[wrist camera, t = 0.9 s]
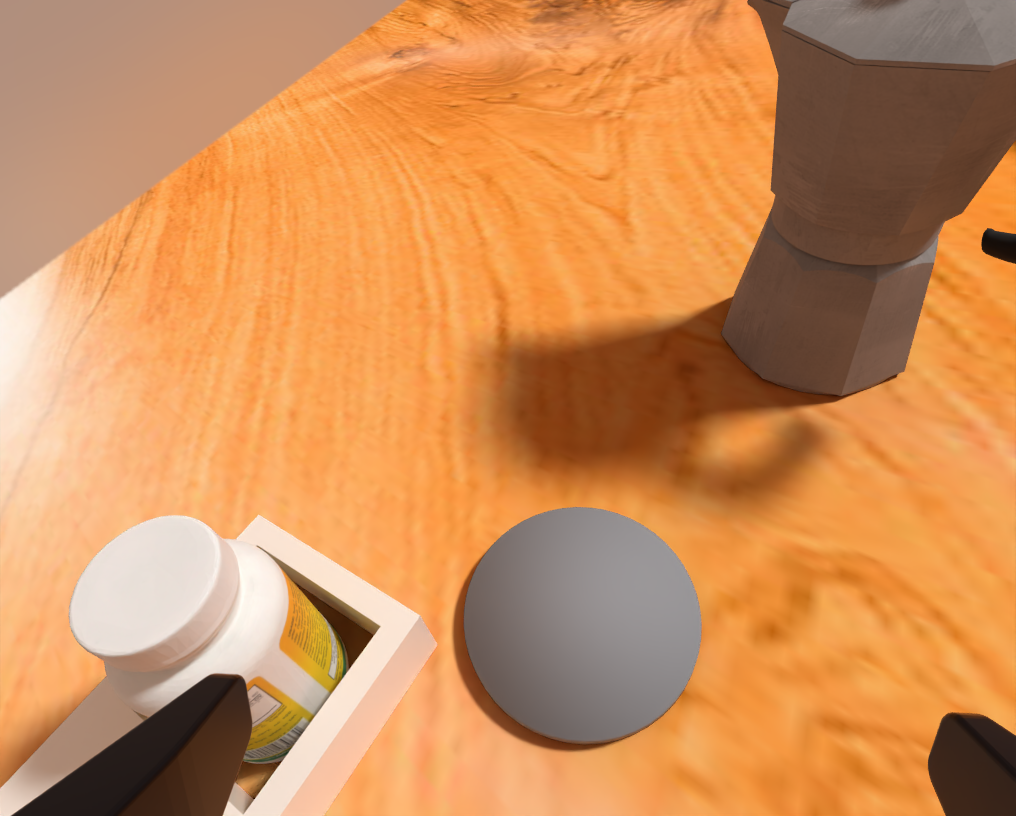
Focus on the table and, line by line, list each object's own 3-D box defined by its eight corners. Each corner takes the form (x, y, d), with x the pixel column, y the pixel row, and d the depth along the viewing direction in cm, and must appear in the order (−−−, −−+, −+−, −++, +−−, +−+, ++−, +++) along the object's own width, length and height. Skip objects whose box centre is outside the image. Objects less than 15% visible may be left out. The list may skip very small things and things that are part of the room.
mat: (637, 802, 20) (639, 799, 19) (421, 658, 24) (417, 653, 23) (734, 573, 24) (736, 567, 24) (538, 483, 28) (537, 476, 28)
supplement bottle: (294, 795, 21) (130, 730, 14) (186, 723, 23) (-7, 633, 16) (380, 650, 24) (283, 532, 17) (278, 597, 26) (151, 470, 19)
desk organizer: (100, 1149, 16) (12, 1191, 14) (-46, 926, 20) (-138, 927, 17) (437, 644, 24) (418, 613, 21) (287, 548, 27) (256, 512, 25)
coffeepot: (653, 324, 34) (688, -82, 20) (751, 243, 37) (839, -150, 24) (948, 486, 26) (1350, -14, 12) (1038, 362, 29) (1430, -133, 15)
